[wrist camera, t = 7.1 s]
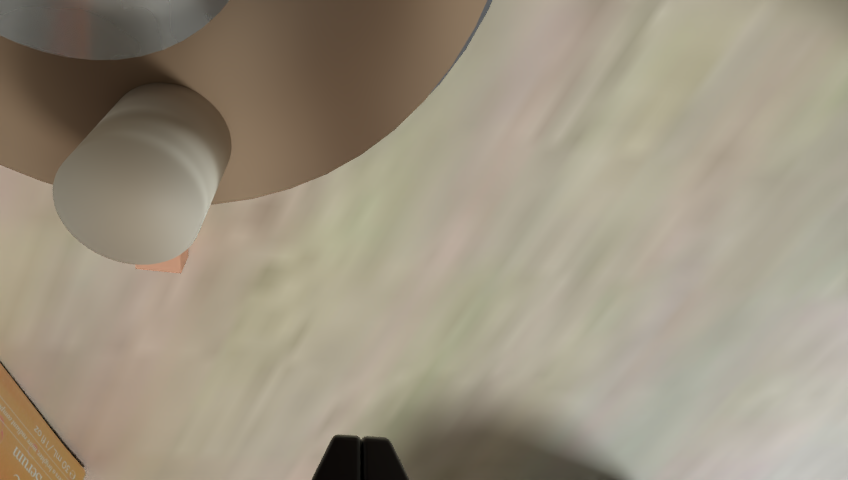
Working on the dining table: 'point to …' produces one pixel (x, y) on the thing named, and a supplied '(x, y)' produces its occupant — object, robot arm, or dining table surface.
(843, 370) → the dining table surface
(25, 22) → the cast cover
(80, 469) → the small box
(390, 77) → the lazy susan
